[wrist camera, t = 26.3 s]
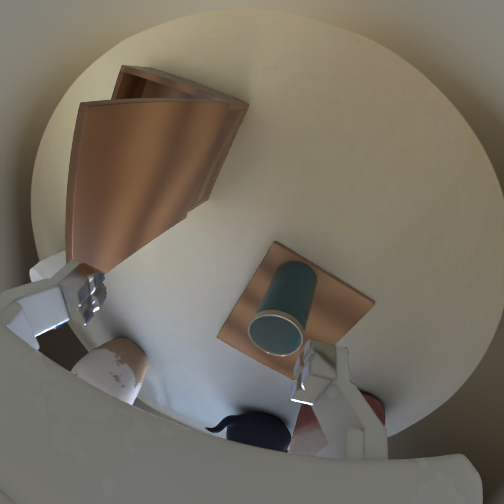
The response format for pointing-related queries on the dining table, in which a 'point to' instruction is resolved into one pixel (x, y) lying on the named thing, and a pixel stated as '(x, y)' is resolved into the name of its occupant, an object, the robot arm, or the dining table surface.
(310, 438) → the planter
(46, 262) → the cup
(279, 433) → the teapot
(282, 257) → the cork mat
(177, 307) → the dining table surface
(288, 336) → the tea tin
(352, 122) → the dining table surface
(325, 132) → the dining table surface
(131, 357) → the vase
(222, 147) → the chest
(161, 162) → the chest lid
